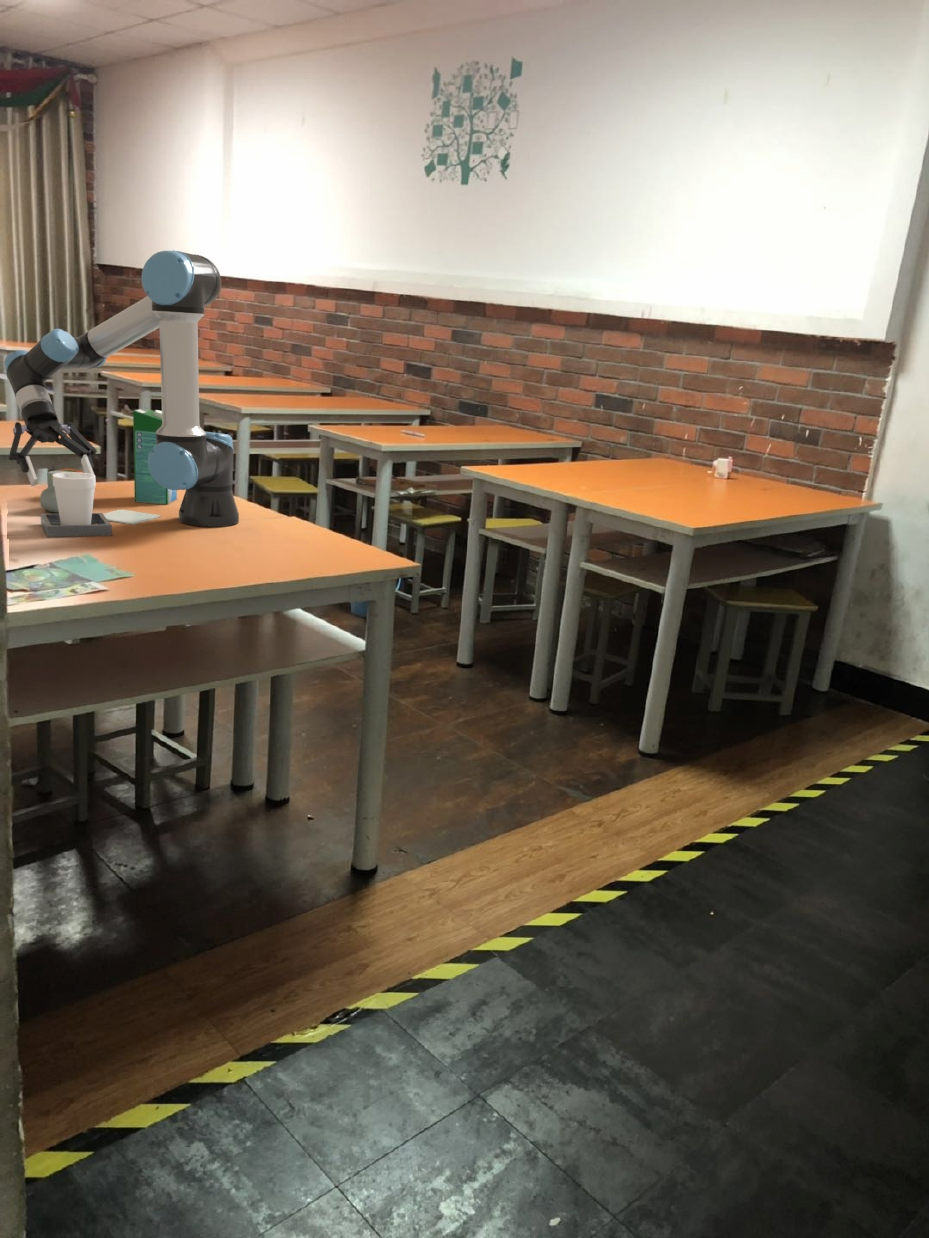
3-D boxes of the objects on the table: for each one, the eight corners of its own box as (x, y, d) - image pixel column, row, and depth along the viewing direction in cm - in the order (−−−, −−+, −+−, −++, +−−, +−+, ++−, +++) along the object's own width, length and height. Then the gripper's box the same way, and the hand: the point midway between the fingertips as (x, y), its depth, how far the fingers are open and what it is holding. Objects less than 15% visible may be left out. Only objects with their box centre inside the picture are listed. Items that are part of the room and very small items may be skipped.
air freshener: (73, 516, 242) (71, 477, 239) (38, 514, 240) (36, 475, 237) (83, 508, 252) (81, 470, 249) (49, 506, 250) (48, 468, 248)
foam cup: (54, 525, 231) (52, 471, 227) (95, 525, 234) (94, 472, 231) (55, 534, 222) (53, 478, 219) (98, 534, 226) (96, 479, 222)
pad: (160, 517, 249) (160, 515, 249) (133, 524, 238) (133, 523, 238) (120, 510, 252) (120, 509, 252) (91, 518, 241) (91, 516, 241)
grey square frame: (102, 522, 238) (102, 512, 237) (111, 535, 226) (111, 525, 225) (40, 524, 231) (40, 513, 230) (47, 537, 219) (47, 526, 218)
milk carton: (167, 504, 264) (166, 413, 257) (134, 502, 264) (132, 410, 257) (177, 499, 273) (176, 410, 266) (145, 496, 273) (144, 407, 265)
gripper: (83, 418, 244) (110, 487, 238) (-21, 418, 227) (5, 493, 222) (91, 399, 239) (119, 470, 233) (-15, 398, 222) (12, 474, 217)
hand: (63, 481), depth 227 cm, fingers open, 13 cm apart
